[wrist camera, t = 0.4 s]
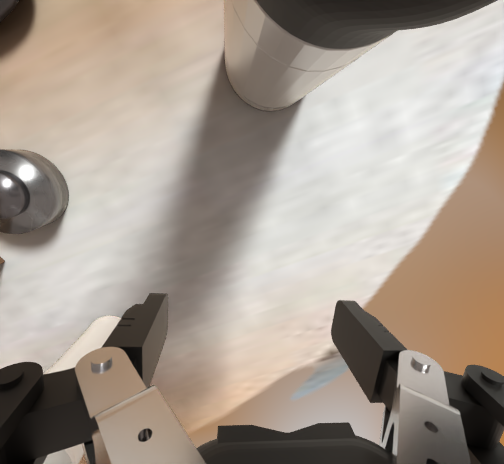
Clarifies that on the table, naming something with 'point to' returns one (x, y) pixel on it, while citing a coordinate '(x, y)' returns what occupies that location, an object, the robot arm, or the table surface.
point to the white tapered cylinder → (90, 340)
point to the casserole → (6, 7)
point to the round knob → (29, 191)
